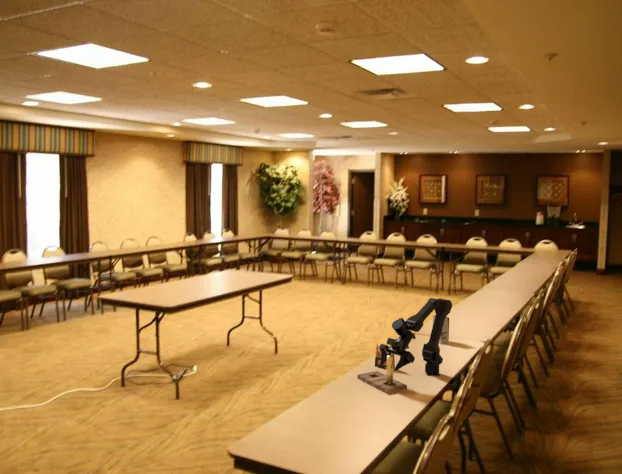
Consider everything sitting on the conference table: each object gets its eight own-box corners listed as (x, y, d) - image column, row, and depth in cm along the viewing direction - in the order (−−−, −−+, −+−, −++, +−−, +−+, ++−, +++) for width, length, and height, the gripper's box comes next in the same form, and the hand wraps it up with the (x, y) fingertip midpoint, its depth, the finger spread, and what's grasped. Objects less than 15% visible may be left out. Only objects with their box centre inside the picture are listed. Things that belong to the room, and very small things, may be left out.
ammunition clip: (374, 366, 300) (375, 344, 299) (375, 365, 302) (376, 343, 301) (393, 369, 295) (394, 347, 294) (394, 368, 297) (395, 346, 296)
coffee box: (449, 343, 347) (450, 317, 346) (440, 344, 344) (441, 318, 343) (439, 339, 355) (440, 314, 354) (431, 340, 353) (432, 315, 351)
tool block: (357, 378, 281) (357, 374, 281) (376, 374, 287) (376, 370, 286) (386, 393, 260) (386, 389, 260) (406, 389, 266) (407, 385, 266)
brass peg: (391, 386, 270) (391, 354, 269) (394, 388, 267) (394, 356, 266) (385, 386, 269) (385, 355, 268) (387, 389, 266) (388, 357, 265)
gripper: (381, 327, 275) (365, 353, 269) (411, 335, 261) (395, 363, 255) (392, 340, 281) (376, 366, 275) (421, 348, 267) (406, 376, 261)
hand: (387, 367), depth 266 cm, fingers open, 9 cm apart
